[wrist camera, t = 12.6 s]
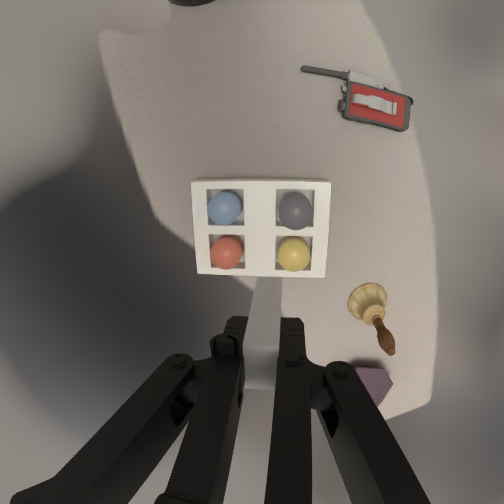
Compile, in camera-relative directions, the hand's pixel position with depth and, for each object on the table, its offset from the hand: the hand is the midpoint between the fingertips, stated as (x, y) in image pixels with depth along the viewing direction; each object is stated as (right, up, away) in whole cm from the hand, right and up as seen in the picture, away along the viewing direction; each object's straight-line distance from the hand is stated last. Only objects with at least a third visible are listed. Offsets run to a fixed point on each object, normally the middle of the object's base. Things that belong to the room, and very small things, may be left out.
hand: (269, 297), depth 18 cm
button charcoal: (+6, +10, +27) cm, 29 cm away
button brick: (-5, +4, +32) cm, 33 cm away
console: (+1, +8, +32) cm, 33 cm away
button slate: (-5, +11, +30) cm, 32 cm away
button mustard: (+6, +3, +31) cm, 32 cm away
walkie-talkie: (+17, +29, +23) cm, 40 cm away
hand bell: (+22, -7, +35) cm, 42 cm away
